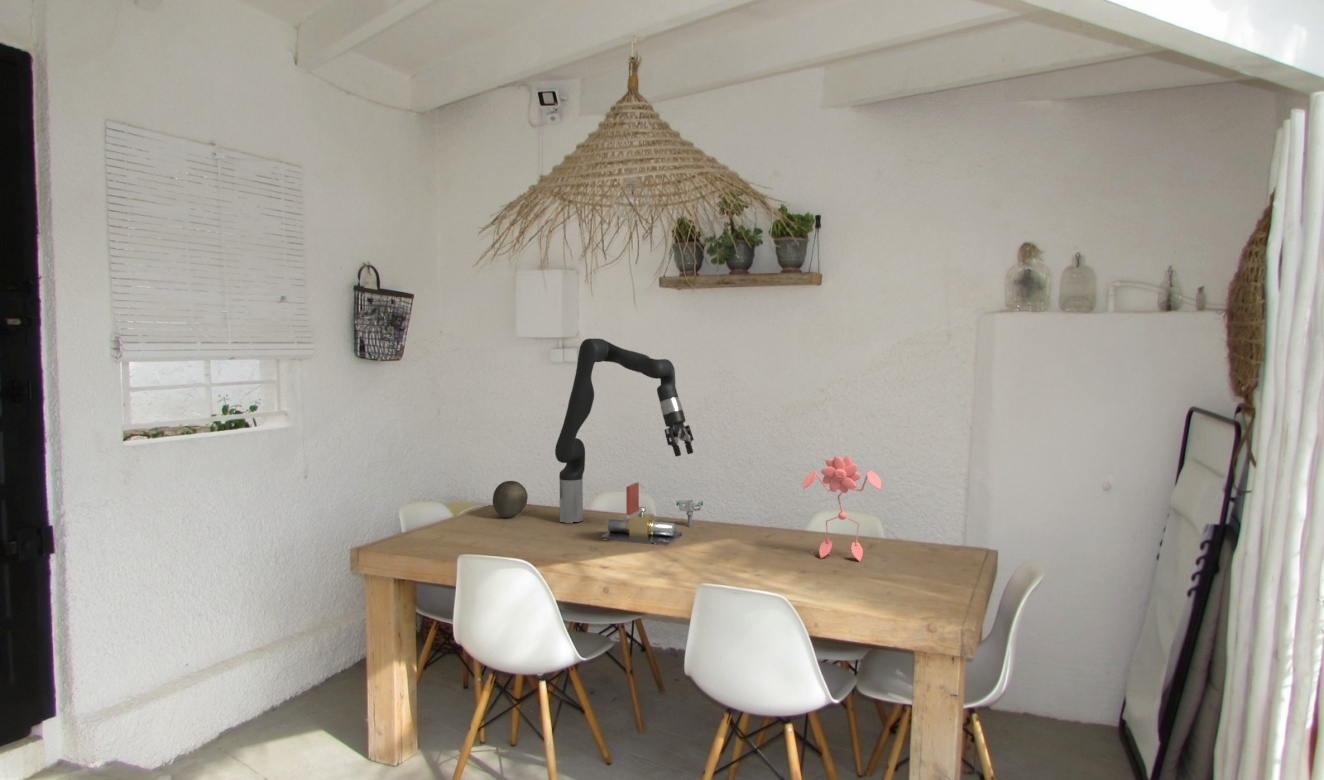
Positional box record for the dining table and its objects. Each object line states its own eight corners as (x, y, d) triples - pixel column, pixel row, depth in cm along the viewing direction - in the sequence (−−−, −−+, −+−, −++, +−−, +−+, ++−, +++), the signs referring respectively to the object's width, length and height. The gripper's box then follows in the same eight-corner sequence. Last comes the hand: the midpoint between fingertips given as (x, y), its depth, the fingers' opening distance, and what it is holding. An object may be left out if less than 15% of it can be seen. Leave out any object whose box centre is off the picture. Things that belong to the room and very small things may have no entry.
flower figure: (805, 551, 284) (805, 450, 281) (882, 559, 275) (883, 454, 272) (795, 564, 270) (795, 458, 267) (876, 572, 261) (877, 462, 258)
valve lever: (623, 518, 293) (623, 486, 292) (639, 509, 307) (638, 479, 307) (632, 518, 292) (632, 487, 291) (647, 510, 306) (647, 480, 306)
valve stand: (600, 539, 303) (600, 513, 302) (617, 530, 318) (617, 505, 317) (668, 545, 294) (668, 518, 294) (681, 535, 309) (681, 509, 309)
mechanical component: (702, 527, 322) (702, 501, 322) (676, 527, 322) (676, 501, 322) (702, 525, 325) (702, 500, 325) (676, 525, 325) (676, 500, 325)
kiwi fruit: (492, 522, 332) (492, 484, 331) (492, 514, 346) (492, 479, 345) (528, 520, 335) (528, 483, 334) (527, 513, 349) (526, 477, 348)
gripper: (674, 413, 310) (686, 455, 308) (653, 415, 298) (665, 459, 296) (690, 407, 306) (702, 450, 304) (670, 409, 294) (682, 454, 292)
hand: (684, 454), depth 300 cm, fingers open, 8 cm apart
